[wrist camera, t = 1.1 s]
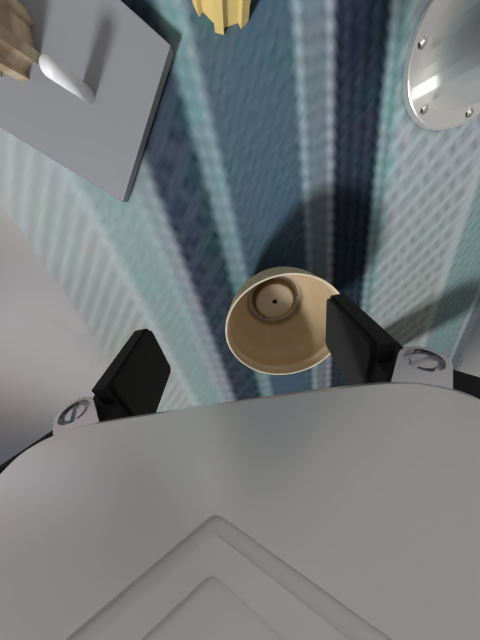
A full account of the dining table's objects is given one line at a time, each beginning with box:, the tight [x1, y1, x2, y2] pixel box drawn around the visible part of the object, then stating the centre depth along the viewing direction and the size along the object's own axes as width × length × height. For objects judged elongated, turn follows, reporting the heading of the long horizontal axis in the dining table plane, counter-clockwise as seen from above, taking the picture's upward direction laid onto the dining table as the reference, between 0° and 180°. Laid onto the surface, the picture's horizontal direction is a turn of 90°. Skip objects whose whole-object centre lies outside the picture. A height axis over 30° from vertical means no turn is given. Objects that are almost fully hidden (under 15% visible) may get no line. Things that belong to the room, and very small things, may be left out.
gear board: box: [0, 0, 174, 202], centre depth 19 cm, size 16×20×7 cm
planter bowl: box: [225, 267, 340, 375], centre depth 32 cm, size 16×16×11 cm
